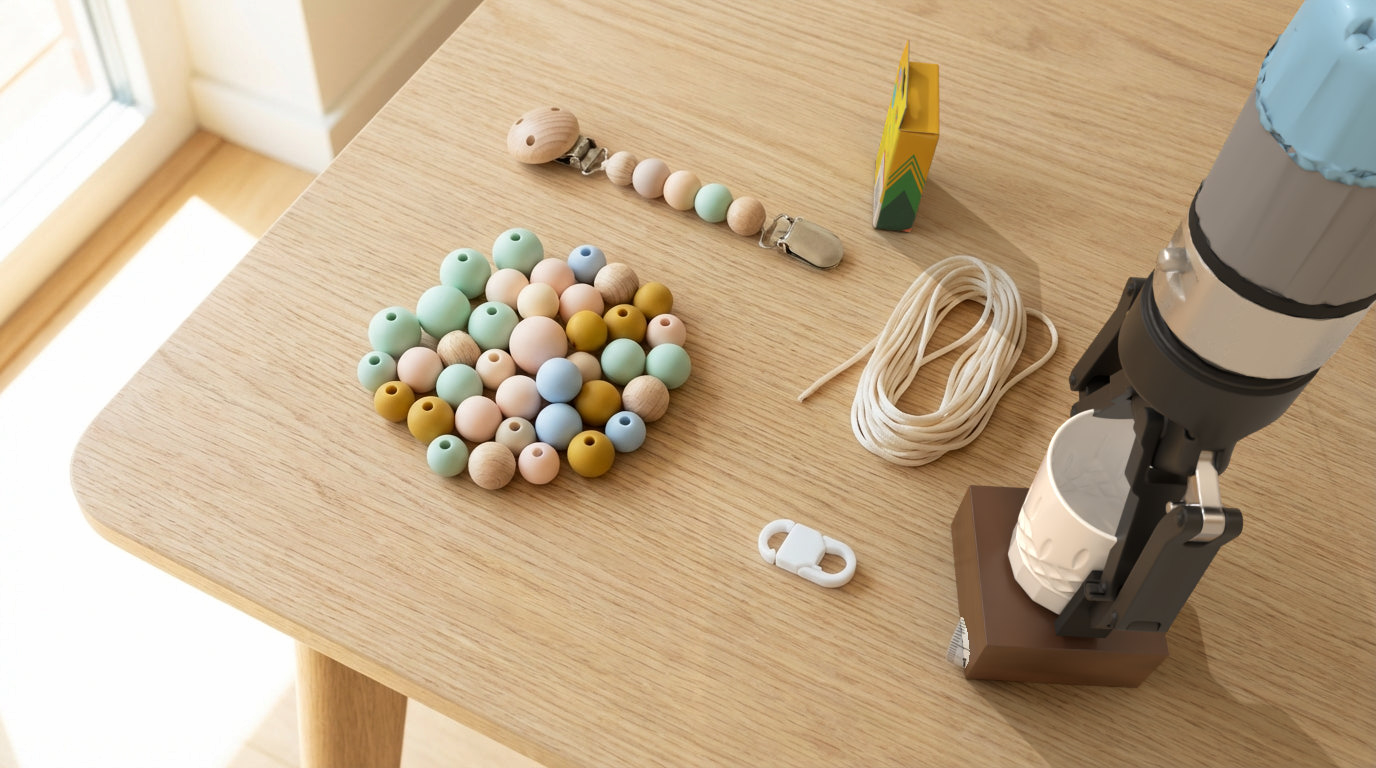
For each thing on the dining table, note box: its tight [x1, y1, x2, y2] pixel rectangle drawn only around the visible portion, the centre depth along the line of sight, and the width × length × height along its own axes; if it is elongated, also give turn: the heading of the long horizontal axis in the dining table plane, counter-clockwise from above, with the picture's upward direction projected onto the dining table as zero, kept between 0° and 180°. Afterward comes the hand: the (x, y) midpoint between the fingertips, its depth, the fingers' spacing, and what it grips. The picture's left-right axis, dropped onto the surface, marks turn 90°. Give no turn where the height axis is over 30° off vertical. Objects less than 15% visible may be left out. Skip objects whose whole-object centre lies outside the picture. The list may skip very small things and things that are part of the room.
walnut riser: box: [950, 484, 1170, 689], centre depth 71 cm, size 10×10×5 cm
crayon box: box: [872, 38, 940, 233], centre depth 86 cm, size 7×3×12 cm, turn 173°
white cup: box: [1008, 409, 1152, 615], centre depth 64 cm, size 8×8×10 cm
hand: (1069, 560), depth 68 cm, fingers closed on white cup, 7 cm apart
